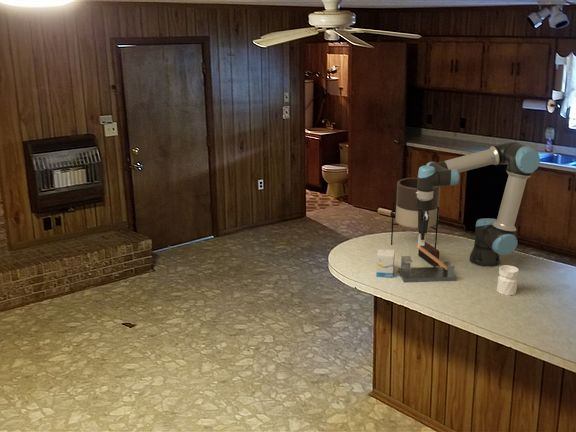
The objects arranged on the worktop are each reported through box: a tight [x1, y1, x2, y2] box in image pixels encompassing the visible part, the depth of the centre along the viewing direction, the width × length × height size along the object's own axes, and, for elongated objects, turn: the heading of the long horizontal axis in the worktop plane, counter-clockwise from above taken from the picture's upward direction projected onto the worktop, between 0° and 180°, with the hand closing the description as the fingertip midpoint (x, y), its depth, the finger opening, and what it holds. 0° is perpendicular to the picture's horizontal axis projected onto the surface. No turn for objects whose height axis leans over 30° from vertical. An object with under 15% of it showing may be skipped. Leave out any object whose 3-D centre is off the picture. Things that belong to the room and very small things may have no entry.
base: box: [397, 259, 458, 283], centre depth 318 cm, size 26×13×8 cm, turn 93°
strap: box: [416, 244, 447, 270], centre depth 314 cm, size 21×5×1 cm
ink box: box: [375, 248, 396, 279], centre depth 321 cm, size 9×8×12 cm
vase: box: [496, 264, 520, 295], centre depth 299 cm, size 9×9×12 cm
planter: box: [390, 177, 441, 249], centre depth 358 cm, size 26×25×35 cm
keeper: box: [400, 255, 413, 271], centre depth 320 cm, size 4×7×6 cm, turn 3°
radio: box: [417, 239, 441, 267], centre depth 335 cm, size 19×3×15 cm, turn 18°
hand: (421, 245), depth 311 cm, fingers closed
